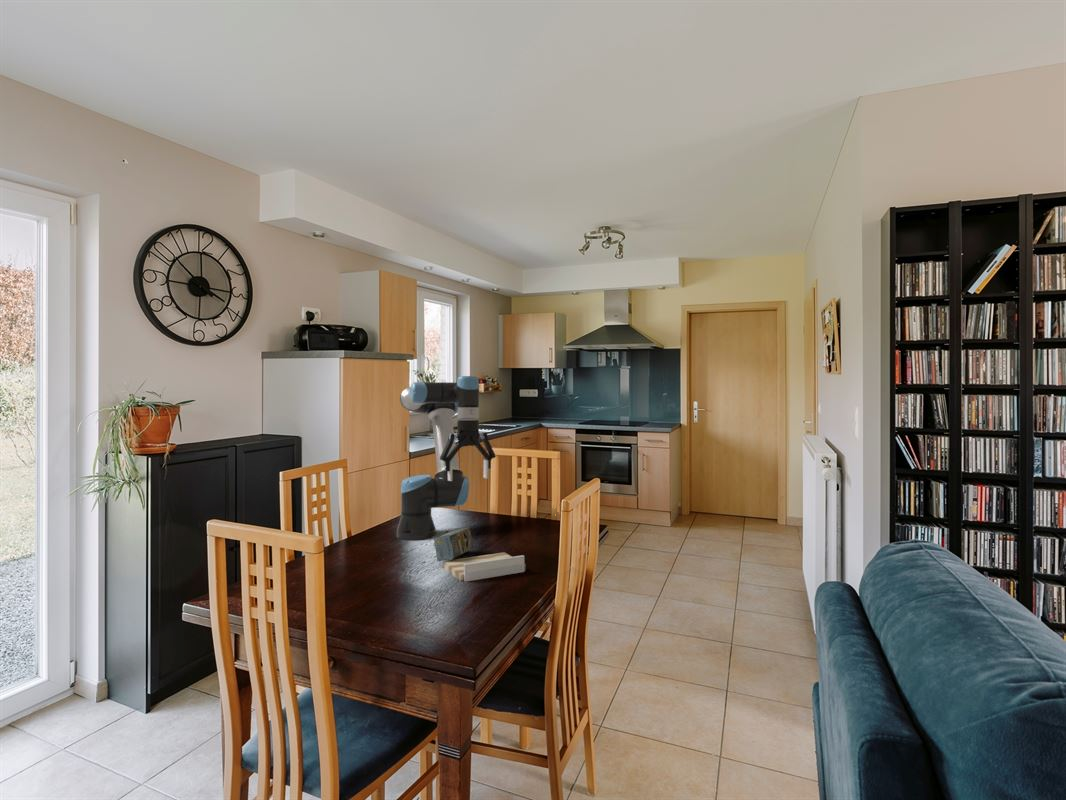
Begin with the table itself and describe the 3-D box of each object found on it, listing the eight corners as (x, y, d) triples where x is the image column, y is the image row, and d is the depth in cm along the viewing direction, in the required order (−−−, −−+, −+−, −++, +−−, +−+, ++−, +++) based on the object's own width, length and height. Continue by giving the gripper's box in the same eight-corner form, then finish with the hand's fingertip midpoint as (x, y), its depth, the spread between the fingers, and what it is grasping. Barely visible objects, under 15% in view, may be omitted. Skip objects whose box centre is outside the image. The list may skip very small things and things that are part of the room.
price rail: (463, 580, 165) (463, 564, 165) (522, 571, 175) (522, 555, 175) (465, 581, 164) (465, 565, 164) (524, 572, 174) (524, 556, 174)
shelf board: (443, 567, 179) (443, 561, 179) (504, 558, 189) (504, 552, 189) (460, 581, 165) (460, 574, 165) (525, 570, 175) (525, 564, 175)
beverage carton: (453, 560, 178) (434, 562, 179) (474, 548, 196) (457, 551, 198) (449, 535, 179) (431, 538, 180) (471, 526, 197) (454, 529, 199)
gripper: (437, 420, 186) (437, 483, 186) (504, 419, 198) (504, 478, 198) (430, 419, 192) (430, 480, 192) (495, 418, 204) (495, 475, 204)
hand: (468, 479), depth 195 cm, fingers open, 13 cm apart
